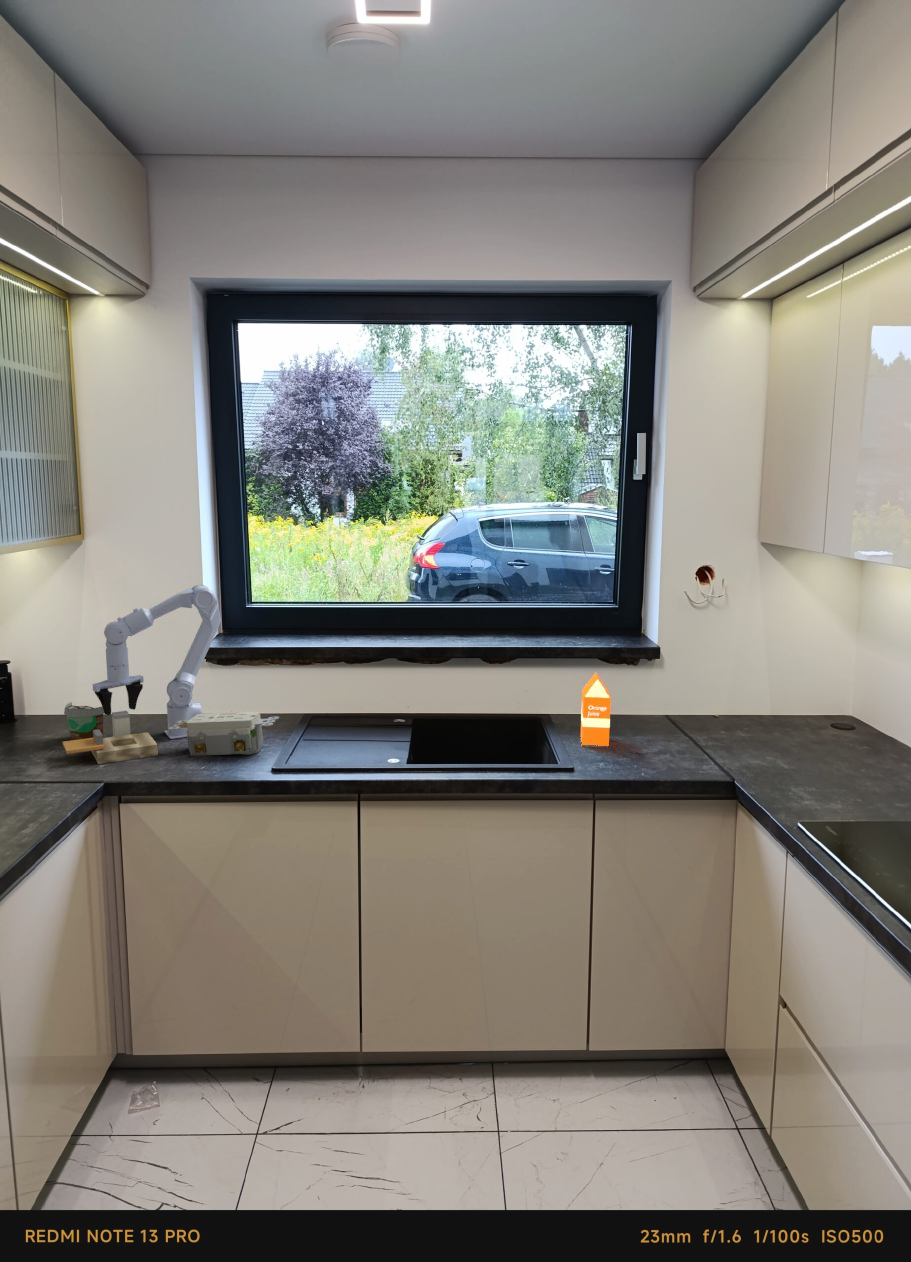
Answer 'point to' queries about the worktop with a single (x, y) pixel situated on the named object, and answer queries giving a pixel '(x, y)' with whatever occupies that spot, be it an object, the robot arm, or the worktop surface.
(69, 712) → the food container
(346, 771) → the worktop surface
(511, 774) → the worktop surface
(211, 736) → the electrical outlet
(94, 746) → the shutter
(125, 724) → the grey upright block
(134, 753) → the socket block
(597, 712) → the orange juice
